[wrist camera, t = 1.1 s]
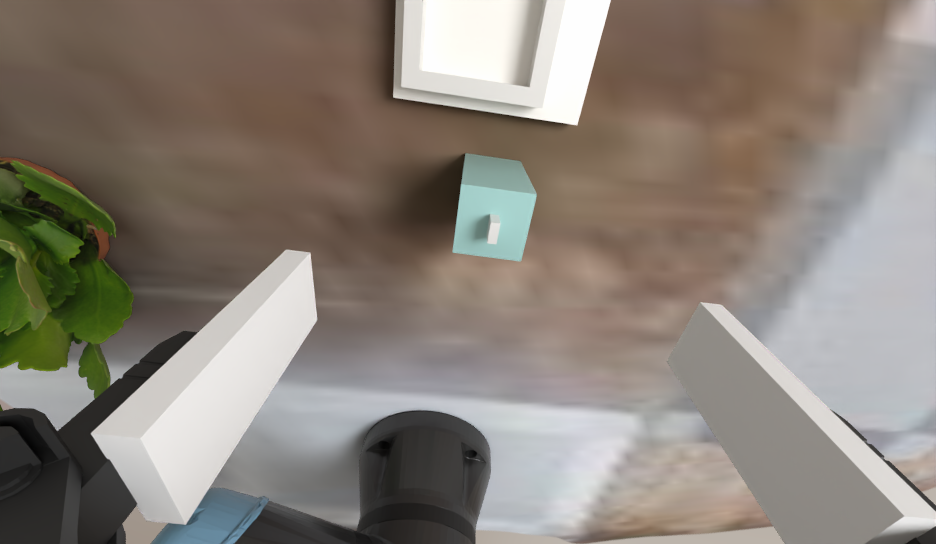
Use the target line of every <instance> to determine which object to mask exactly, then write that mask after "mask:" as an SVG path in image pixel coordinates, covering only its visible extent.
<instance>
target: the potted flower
mask: <svg viewBox="0 0 936 544" xmlns="http://www.w3.org/2000/svg"><path fill="white" fill-rule="evenodd" d="M112 233H113V235H114V237H115V238H116V225H115V223H114V221H113V219H112V217H111V216H110V215H109V214H108V213H107V212H106V211H105V210H104V209H103V208H102V207H100V206H99V205H98V204H96V203H94V202H93V201H91V200H90V199H89V198H88V197H86V196H85V195H84V194H82V193H81V192H80V191H79V190H78V189H77V188H76V187H75V186H74V185H73V183H72V182H71V181H69V180H67V179H66V178H64V177H61V176H59V175H57V174H56V173H55V172H53V171H51V170H49V169H47V168H44V167H41V166H39V165H36V164H34V163H32V162H29V161H27V160H23V159H18V158H0V368H4V367H7V366H9V365H11V364H13V363H15V362H19V364H18V368H19V369H20V370H27V369H30V368H33V369H35V370H39V371H56V370H59V368H60V367H67V362H68V353H69V350H70V348H69V347H70V346H71V342H72V341H75V343H76V344H80V343H81V342H82V340H83V341H86V342H89V343H88V345H87V346H86V347H85V349H84V350H83V354H82V356H81V358H80V360H79V366H80V368H79V376H80V377H81V378H83V377H87V383H88V388H89V389H91V390H94V398H95V399H96V398H97V397H98V396H99V395H100V394H102V393H103V392H104V391H105V390H106V389H107V388H108V387H110V372H109V369H108V365H107V363H106V360H105V358H104V355H103V353H102V351H101V348H100V345H99V344H100V343H103V342H105V341H106V340H107V339H108V338H109V337H110V336H111V335H114V334H115V333H117V331H118V330H119V329H120V328H122V327H123V322H124V321H125V320H126V319H128V318H129V317H130V315H131V314H132V306H131V304H132V303H133V300H134V296H133V293H132V292H131V290H130V287H129V286H128V285H127V284H126V282H125V281H124V280H123V279H122V278H121V277H120V276H119V275H118V274H117V273H116V272H115V271H114V270H113V269H112V268H111V267H110V266H109V264H108V263H107V262H106V261H105V260H104V258H105V256H106V254H107V253H108V251H109V248H110V245H109V241H108V237H109V236H111V235H112ZM0 411H3V410H2V408H1V405H0Z"/></svg>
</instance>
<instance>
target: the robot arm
mask: <svg viewBox="0 0 936 544" xmlns="http://www.w3.org/2000/svg"><path fill="white" fill-rule="evenodd" d="M316 321H317V313H316V303H315V294H314V284H313V274H312V264H311V254H310V253H309V252H301V251H293V250H285V251H284V252H283V253H282V254H281V255H280V256H279V257H278V258H277V259H276V260H275V261H274V262H273V263H272V264H270V265H269V266H268V267H267V268H266V269H265V270H264V271H263V272H262V273H261V274H260V275H259V276H258V277H257V278H256V279H255V280H253V281H252V282H251V283H250V284H249V285H248V286H247V287H246V288H245V289H244V290H243V291H242V292H241V293H240V294H239V295H237V296H236V297H235V298H234V299H233V300H232V301H231V302H230V303H229V304H228V305H227V306H226V307H225V308H224V309H223V310H222V311H220V312H219V313H218V314H217V315H216V316H215V317H214V318H213V319H212V320H211V321H210V322H209V323H208V324H207V325H206V326H204V327H203V328H202V329H201V330H200V331H199V332H198V333H197V332H188V331H183V332H181V333H179V334H177V335H175V336H173V337H171V338H170V339H168V340H166V341H164V342H162V343H160V344H158V345H157V346H156V347H155V348H154V349H153V350H151V351H150V352H149V353H148V354H147V355H146V356H145V357H143V358H142V359H141V360H140V363H139V364H135V365H134V366H133V367H132V368H131V369H129V370H128V371H127V372H126V373H125V374H124V375H123V378H122V379H120V378H119V379H118V380H117V381H115V382H114V383H113V384H112V385H111V386H110V387H108V388H107V389H106V390H105V391H104V392H103V393H102V394H100V395H99V396H98V397H97V398H96V399H95V400H93V401H92V402H91V403H90V404H89V405H88V406H86V407H85V408H84V409H83V410H82V411H81V412H79V413H78V414H77V415H76V416H75V417H74V418H72V419H71V420H70V421H69V422H68V423H67V424H65V425H64V426H63V427H62V428H61V429H60V430H59V431H56V429H55V428H54V427H53V425H52V424H51V422H50V421H49V419H48V418H47V417H46V415H45V414H44V413H42V412H39V411H37V410H35V409H28V408H14V409H9V410H4V411H0V544H126V543H125V542H126V541H125V540H126V534H125V531H124V528H123V525H122V523H123V522H124V521H125V520H126V518H127V517H128V516H129V514H130V513H131V512H132V511H133V509H134V508H135V507H136V506H137V507H138V509H139V511H140V512H141V513H142V515H143V517H144V518H145V520H146V521H151V522H162V523H168V524H167V525H166V526H165V527H164V528H163V529H162V531H161V532H160V533H159V534H158V535H157V537H156V538H155V539H154V540H153V541H152V543H151V544H475V532H476V524H477V520H478V517H479V513H480V510H481V506H482V503H483V500H484V496H485V493H486V489H487V486H488V482H489V479H490V473H491V459H490V448H489V445H488V442H487V440H486V439H485V437H484V436H483V435H482V434H481V432H480V431H478V430H477V429H476V428H475V427H474V426H472V425H471V424H469V423H467V422H465V421H463V420H461V419H459V418H457V417H454V416H451V415H447V414H443V413H437V412H428V411H415V412H406V413H401V414H397V415H394V416H391V417H388V418H386V419H384V420H382V421H380V422H379V423H377V424H376V425H375V426H374V427H373V428H372V429H371V430H370V431H369V432H368V434H367V436H366V438H365V441H364V444H363V448H362V451H361V454H360V459H359V485H360V520H359V524H358V528H357V531H354V530H352V529H349V528H346V527H343V526H340V525H337V524H334V523H331V522H329V521H326V520H323V519H320V518H317V517H314V516H311V515H308V514H305V513H303V512H300V511H297V510H294V509H291V508H288V507H285V506H282V505H279V504H277V503H274V502H271V501H269V499H268V498H266V497H264V496H263V497H259V498H257V497H253V496H250V495H246V494H243V493H239V492H236V491H232V490H229V489H225V488H211V489H209V488H210V486H211V485H212V483H213V481H214V480H215V478H216V477H217V475H218V474H219V472H220V471H221V469H222V467H223V466H224V464H225V463H226V461H227V460H228V458H229V457H230V455H231V453H232V452H233V450H234V449H235V447H236V446H237V444H238V443H239V441H240V439H241V438H242V436H243V435H244V433H245V432H246V430H247V429H248V427H249V425H250V424H251V422H252V421H253V419H254V418H255V416H256V414H257V413H258V411H259V410H260V408H261V407H262V405H263V404H264V402H265V400H266V399H267V397H268V396H269V394H270V393H271V391H272V390H273V388H274V386H275V385H276V383H277V382H278V380H279V379H280V377H281V376H282V374H283V372H284V371H285V369H286V368H287V366H288V365H289V363H290V362H291V360H292V358H293V357H294V355H295V354H296V352H297V351H298V349H299V348H300V346H301V344H302V343H303V341H304V340H305V338H306V337H307V335H308V334H309V332H310V330H311V329H312V327H313V326H314V324H315V323H316ZM667 363H668V364H669V366H670V367H671V369H672V370H673V372H674V373H675V375H676V376H677V378H678V380H679V381H680V383H681V384H682V386H683V387H684V389H685V390H686V392H687V393H688V395H689V397H690V398H691V400H692V401H693V403H694V404H695V406H696V407H697V409H698V410H699V412H700V414H701V415H702V417H703V418H704V420H705V421H706V423H707V424H708V426H709V427H710V429H711V431H712V432H713V434H714V435H715V437H716V438H717V440H718V441H719V443H720V444H721V446H722V448H723V449H724V451H725V452H726V454H727V455H728V457H729V458H730V460H731V461H732V463H733V465H734V466H735V468H736V469H737V471H738V472H739V474H740V475H741V477H742V478H743V480H744V482H745V483H746V485H747V486H748V488H749V489H750V491H751V492H752V494H753V495H754V497H755V499H756V500H757V502H758V503H759V505H760V506H761V508H762V509H763V511H764V512H765V514H766V516H767V517H768V519H769V520H770V522H771V523H772V525H773V526H774V528H775V529H776V531H777V533H778V534H779V536H780V537H781V538H782V540H783V542H784V543H785V544H936V505H935V504H934V503H933V502H932V501H931V500H929V499H928V498H927V497H926V496H925V495H924V494H923V493H922V492H921V491H920V490H919V489H918V488H917V487H916V486H915V485H914V484H913V483H912V482H911V481H909V480H908V479H907V478H906V477H905V476H904V475H903V474H902V473H901V472H900V471H899V470H898V469H897V468H896V467H895V466H894V465H893V464H892V463H891V462H890V461H886V460H885V459H884V456H883V455H882V454H881V453H880V452H879V451H878V450H877V449H876V448H875V447H874V446H873V445H872V444H868V443H867V440H866V439H865V438H864V437H863V436H862V435H861V434H860V433H859V432H858V431H857V430H856V429H855V428H854V427H853V426H852V425H851V424H850V423H849V422H848V421H846V420H845V419H843V418H842V417H841V416H839V415H838V414H836V413H835V412H834V411H832V410H831V409H829V408H828V407H827V406H826V405H825V404H824V403H823V402H822V401H821V400H820V399H819V398H818V397H817V396H816V395H814V394H813V393H812V392H811V391H810V390H809V389H808V388H807V387H806V386H805V385H804V384H803V383H802V382H801V381H800V380H799V379H798V378H797V377H796V376H795V375H794V374H793V373H792V372H791V371H790V370H789V369H788V368H787V367H785V366H784V365H783V364H782V363H781V362H780V361H779V360H778V359H777V358H776V357H775V356H774V355H773V354H772V353H771V352H770V351H769V350H768V349H767V348H766V347H765V346H764V345H763V344H762V343H761V342H760V341H759V340H757V339H756V338H755V337H754V336H753V335H752V334H751V333H750V332H749V331H748V330H747V329H746V328H745V327H744V326H743V325H742V324H741V323H740V322H739V321H738V320H737V319H736V318H735V317H734V316H733V315H732V314H731V313H730V312H728V311H727V310H726V309H725V308H724V307H723V306H722V305H719V304H711V303H703V302H700V303H699V305H698V307H697V308H696V310H695V312H694V314H693V316H692V317H691V319H690V321H689V323H688V325H687V326H686V328H685V330H684V332H683V333H682V335H681V337H680V339H679V341H678V342H677V344H676V346H675V348H674V349H673V351H672V353H671V355H670V357H669V358H668V360H667Z"/></svg>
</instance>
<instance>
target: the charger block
mask: <svg viewBox="0 0 936 544" xmlns="http://www.w3.org/2000/svg"><path fill="white" fill-rule="evenodd" d="M536 196H537V194H536V192H535V190H534V188H533V186H532V184H531V182H530V180H529V178H528V176H527V174H526V172H525V169H524V167H523V165H522V163H521V161H516V160H509V159H502V158H495V157H488V156H481V155H474V154H467V153H465V160H464V167H463V175H462V182H461V190H460V197H459V205H458V213H457V221H456V229H455V237H454V245H453V253H461V254H468V255H476V256H483V257H491V258H499V259H506V260H514V261H521V259H522V255H523V251H524V247H525V243H526V238H527V234H528V230H529V226H530V221H531V217H532V213H533V209H534V205H535V200H536Z"/></svg>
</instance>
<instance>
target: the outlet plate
mask: <svg viewBox="0 0 936 544" xmlns="http://www.w3.org/2000/svg"><path fill="white" fill-rule="evenodd" d="M610 1H611V0H396V17H395V53H394V89H393V98H400V99H406V100H413V101H420V102H426V103H433V104H440V105H446V106H453V107H460V108H466V109H473V110H479V111H486V112H493V113H499V114H506V115H513V116H519V117H526V118H533V119H539V120H546V121H552V122H559V123H566V124H572V125H577V124H578V120H579V116H580V113H581V109H582V105H583V101H584V98H585V94H586V90H587V87H588V83H589V79H590V75H591V72H592V68H593V64H594V60H595V57H596V53H597V49H598V46H599V42H600V38H601V34H602V31H603V27H604V23H605V19H606V16H607V12H608V8H609V5H610Z"/></svg>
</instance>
